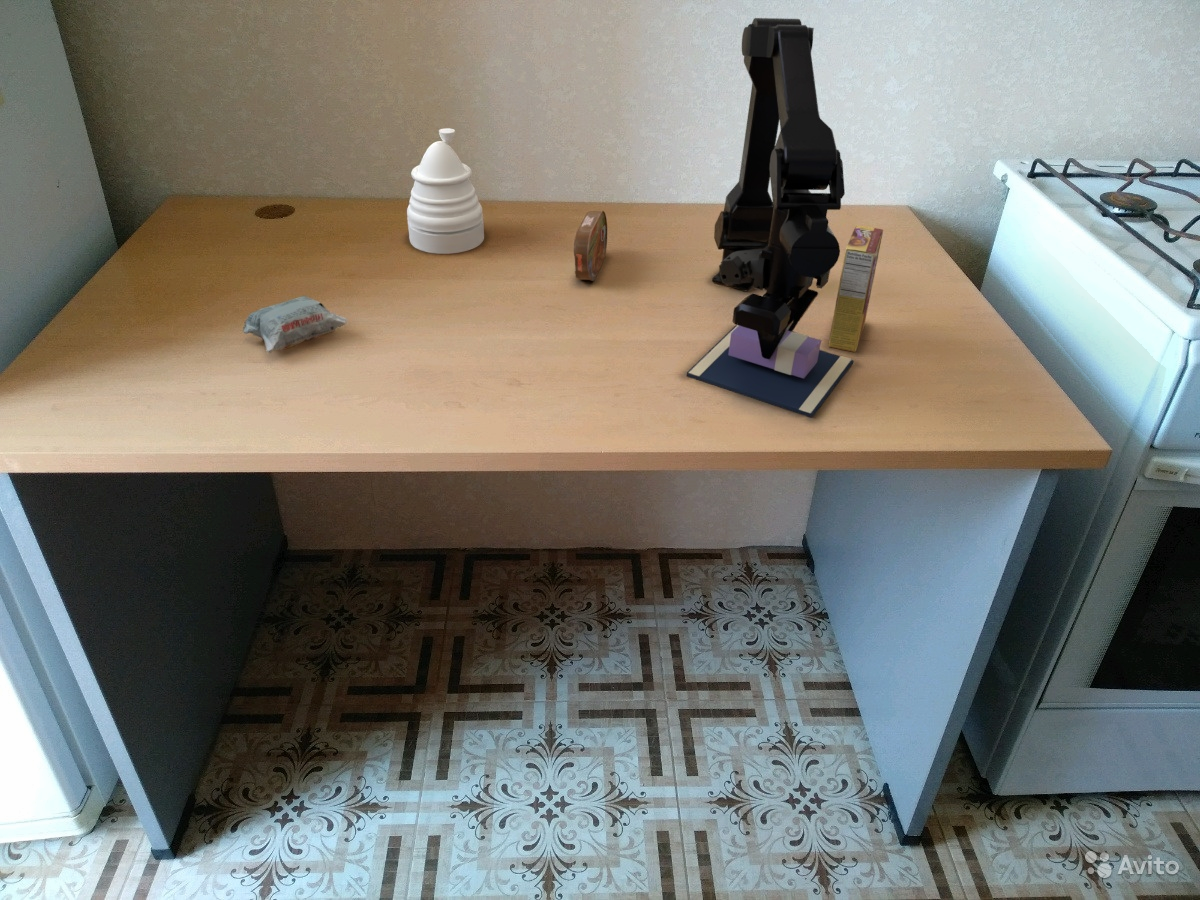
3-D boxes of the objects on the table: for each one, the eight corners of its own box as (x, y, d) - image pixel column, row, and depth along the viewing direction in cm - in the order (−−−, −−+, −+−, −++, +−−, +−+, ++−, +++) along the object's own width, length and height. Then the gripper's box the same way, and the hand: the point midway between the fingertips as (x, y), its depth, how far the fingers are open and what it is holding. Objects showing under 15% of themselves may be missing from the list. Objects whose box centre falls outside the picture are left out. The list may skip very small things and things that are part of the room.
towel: (735, 328, 131) (736, 324, 131) (852, 363, 124) (853, 359, 123) (686, 376, 120) (686, 371, 120) (812, 418, 113) (812, 413, 112)
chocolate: (743, 340, 125) (746, 317, 123) (817, 362, 121) (821, 339, 118) (727, 355, 122) (730, 332, 119) (803, 379, 117) (808, 355, 115)
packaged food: (349, 336, 126) (343, 305, 123) (270, 364, 120) (262, 332, 117) (320, 315, 131) (314, 284, 128) (243, 340, 125) (235, 308, 122)
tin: (590, 289, 140) (591, 239, 135) (570, 287, 141) (570, 237, 136) (608, 251, 152) (610, 203, 147) (590, 249, 152) (591, 201, 147)
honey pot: (445, 218, 162) (437, 116, 151) (499, 236, 156) (494, 132, 145) (393, 240, 153) (381, 135, 142) (448, 260, 147) (439, 152, 136)
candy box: (835, 319, 134) (855, 223, 125) (864, 325, 133) (886, 228, 124) (825, 347, 127) (845, 247, 118) (855, 353, 126) (878, 253, 117)
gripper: (761, 204, 120) (747, 306, 130) (701, 251, 108) (689, 362, 117) (840, 222, 116) (819, 327, 125) (786, 274, 103) (768, 387, 112)
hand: (774, 349), depth 120 cm, fingers closed on chocolate, 5 cm apart
